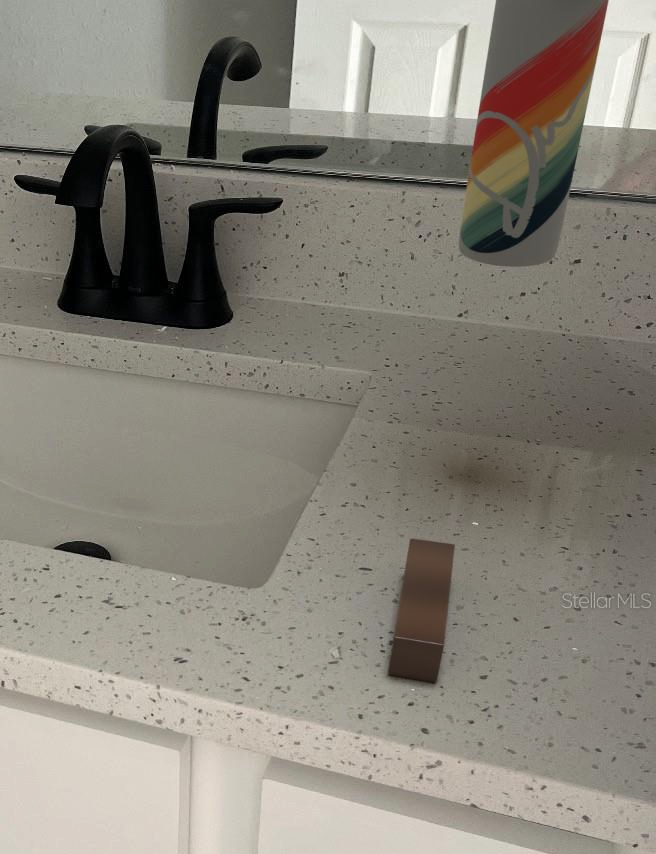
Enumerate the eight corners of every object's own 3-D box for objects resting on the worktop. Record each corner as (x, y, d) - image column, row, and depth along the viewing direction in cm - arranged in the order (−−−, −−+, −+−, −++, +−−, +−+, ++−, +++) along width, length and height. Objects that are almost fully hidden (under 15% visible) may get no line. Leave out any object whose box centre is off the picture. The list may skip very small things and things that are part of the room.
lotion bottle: (464, 268, 70) (528, -132, 59) (450, 238, 75) (508, -138, 63) (565, 269, 69) (650, -135, 58) (545, 238, 74) (620, -141, 63)
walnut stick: (404, 573, 71) (410, 537, 69) (448, 579, 70) (455, 543, 68) (387, 675, 63) (393, 637, 61) (436, 683, 62) (443, 645, 61)
